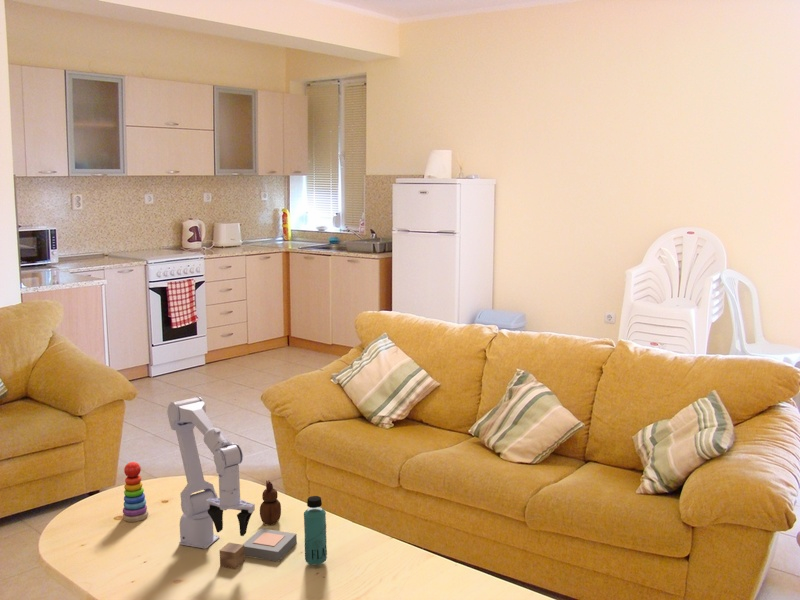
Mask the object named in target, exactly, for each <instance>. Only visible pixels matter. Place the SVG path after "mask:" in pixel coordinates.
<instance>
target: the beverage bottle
mask: <svg viewBox="0 0 800 600" xmlns="http://www.w3.org/2000/svg"><path fill="white" fill-rule="evenodd" d="M306 506H307V507H308V508H307V509H306V510H304V512H303V522H304V523H303V524H304V525H303V527H304V530H303V531H304V560H305V563H307V564H309V565H313V566H314V565H321V564H323V563H325V562H326V560H327V559H328V551H327V550H328V548H327V538H328V537H327V521H326V520H327V519H326V518H327V517H326V515H327V514H326V510H325V509H324V508H323V507H321V506H323V503H322V498H321V496H318V495H311V496H309V497H307V503H306Z"/></svg>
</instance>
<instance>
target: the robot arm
mask: <svg viewBox="0 0 800 600" xmlns="http://www.w3.org/2000/svg"><path fill="white" fill-rule="evenodd" d="M166 412H167V418H168V422H169V426H170V430H173V431H175V433H176V437H177V441H178V446H179V451H180V456H181V459H182V464H183V469H184V473H185V474H184V475H185V477H186V482H187V484H186V485H185V486H184V488H183V489H182V491H181V492H180V494H179V495H180V508H181V511H182V515H181V516H180V518H179V535H180V537H179V539H180V542H178V545H180V546H188V547H192V548H199V549H205V550H206V549H208V548H209V547H210V546H211V545H212V544H213V543H215V542H216V541H217V540H218V539H220V535H217V534H214V532H215V531H214V527H215V529H216V533H220V532H221V531H223V528H224V527H223V526H224V521H223V519H224V518H223V517H224V511H227V510H236V511H240V512H239V513H237V514H236V517H237V521H238V525H239V535H240V536H241V537H243V536H245V535H246V534H247V529H248V525H249V522H250V518H251V517H252V514H253V513H254V512H255V510H256V509H255V508H256V506H255V505H256V504H255V503H251V502H249V501H245V500H243V499H241V487H240V486H241V481H240V464H241V463H243V459H244V454H243V451H242V449H241V446H240V445H239V443H235V442H234V441H230V440H229V438H228V437H227V436H226V435H225V433H224V432H223V430H222V429H220V428H218V427H215V426H214V425H213V422H212V421H211V419H210V417H209V416H208V414H207V409H206V403H205V400H204V398H202V397H200V396H198V395H197V396H195V397H191V398H187V399H182V400H177V401H171V402H169V404H168V406H167V411H166ZM195 428H196V429H198V431H199V432H200V433H201V434H202V435H203V443H204V444H205V445H206V447H207V448H208V449H209V451H210V453H212V455H213V462H214V465H215V468H216V470H215V471H216V473H217V474H218V491H219V494H217V492H216V490H215V486H214V484H213V483H211V482H209V481H208V480H207V481H206V480H205V477H204V473H203V468H202V463H201V459H200V455H199V454H200V453H199V450H198V446H197V442H196V437H195V432H194V429H195ZM218 495H219V496H218Z"/></svg>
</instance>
